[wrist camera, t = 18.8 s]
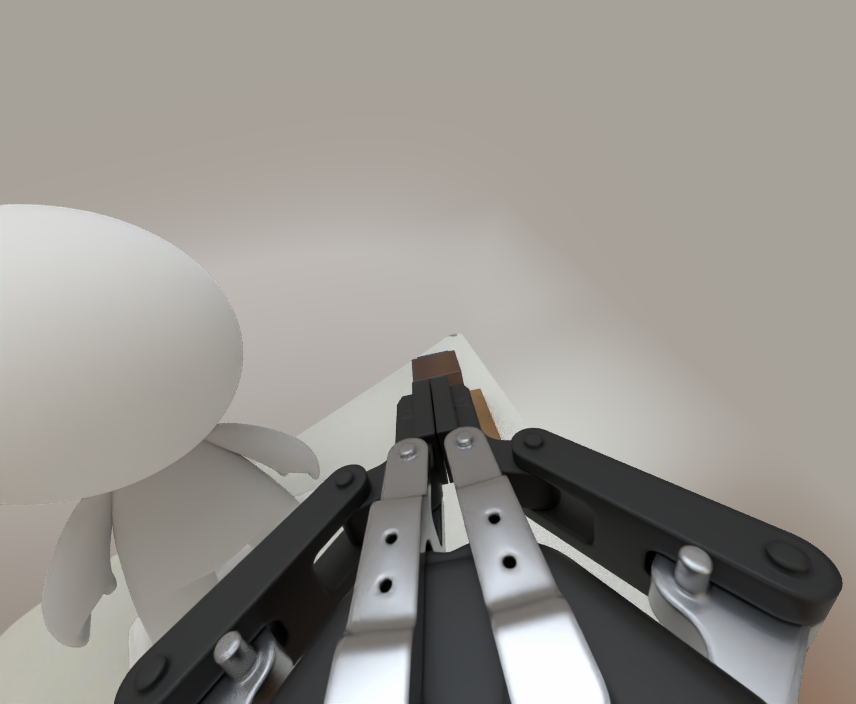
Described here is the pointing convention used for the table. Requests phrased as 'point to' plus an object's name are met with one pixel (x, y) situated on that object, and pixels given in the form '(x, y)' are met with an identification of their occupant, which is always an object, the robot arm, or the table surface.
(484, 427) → the block
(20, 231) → the big headed doll
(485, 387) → the table surface
